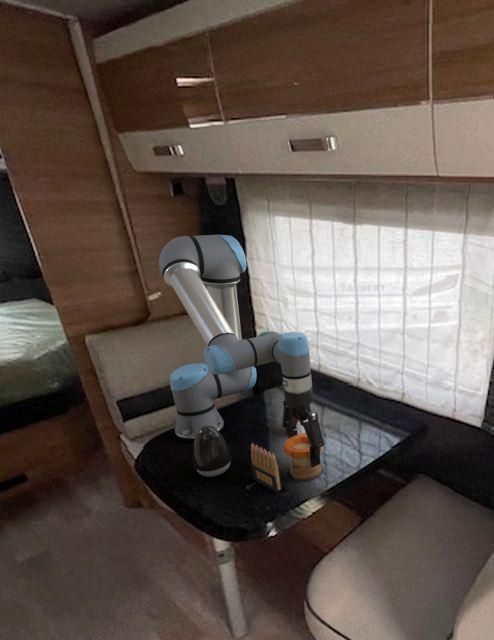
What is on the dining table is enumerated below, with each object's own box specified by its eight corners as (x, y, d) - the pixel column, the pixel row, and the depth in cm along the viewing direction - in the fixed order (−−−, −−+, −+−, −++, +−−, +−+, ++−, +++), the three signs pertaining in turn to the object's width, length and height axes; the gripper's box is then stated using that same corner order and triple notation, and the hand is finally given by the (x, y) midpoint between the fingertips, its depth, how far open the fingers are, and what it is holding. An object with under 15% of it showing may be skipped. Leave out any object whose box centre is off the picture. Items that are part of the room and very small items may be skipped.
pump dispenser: (204, 486, 117) (194, 439, 111) (190, 471, 124) (179, 426, 118) (239, 471, 124) (232, 426, 118) (224, 458, 130) (216, 414, 125)
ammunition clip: (282, 488, 117) (277, 452, 112) (277, 492, 116) (272, 455, 111) (258, 475, 122) (252, 440, 118) (253, 478, 121) (247, 443, 116)
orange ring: (278, 448, 121) (277, 442, 121) (309, 435, 128) (308, 430, 128) (298, 462, 115) (297, 456, 114) (329, 448, 122) (328, 442, 121)
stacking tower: (284, 471, 125) (281, 448, 121) (310, 459, 131) (308, 437, 128) (301, 484, 119) (299, 460, 116) (328, 471, 125) (326, 448, 122)
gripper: (264, 381, 119) (273, 447, 128) (310, 406, 105) (316, 479, 113) (287, 374, 124) (294, 438, 133) (334, 397, 110) (339, 468, 118)
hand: (304, 457), depth 123 cm, fingers closed on orange ring, 10 cm apart
